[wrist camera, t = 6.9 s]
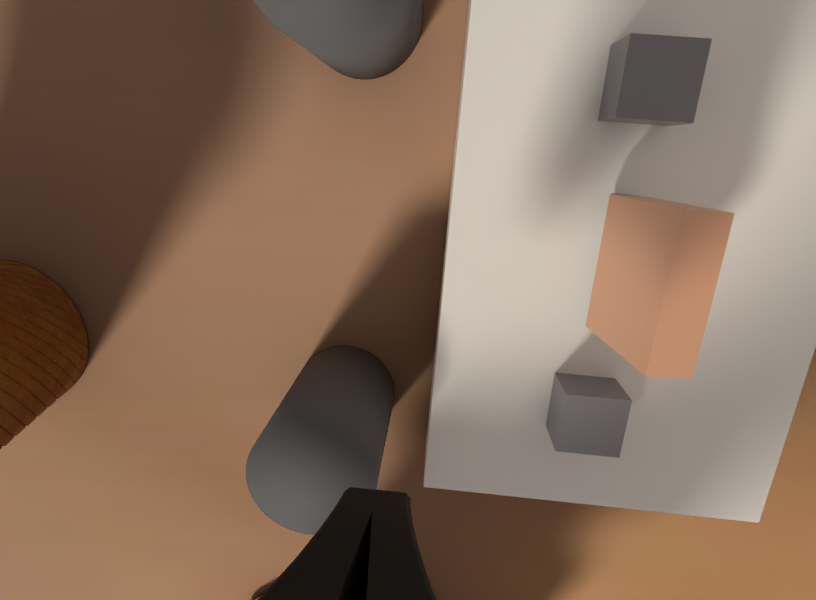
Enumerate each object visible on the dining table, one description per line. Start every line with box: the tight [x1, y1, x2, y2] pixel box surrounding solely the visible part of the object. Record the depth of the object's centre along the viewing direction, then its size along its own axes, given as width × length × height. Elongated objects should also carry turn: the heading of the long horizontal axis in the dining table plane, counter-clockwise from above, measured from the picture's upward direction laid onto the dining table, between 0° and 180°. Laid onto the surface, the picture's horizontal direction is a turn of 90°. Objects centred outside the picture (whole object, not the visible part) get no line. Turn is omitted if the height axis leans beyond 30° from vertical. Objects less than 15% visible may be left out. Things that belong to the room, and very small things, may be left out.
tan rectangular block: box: [586, 193, 735, 379], centre depth 14 cm, size 1×4×4 cm, turn 176°
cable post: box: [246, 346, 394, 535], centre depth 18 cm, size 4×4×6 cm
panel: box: [423, 0, 816, 523], centre depth 17 cm, size 12×18×5 cm, turn 176°
